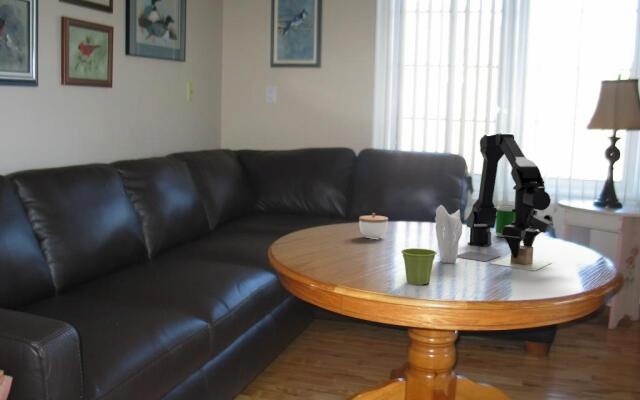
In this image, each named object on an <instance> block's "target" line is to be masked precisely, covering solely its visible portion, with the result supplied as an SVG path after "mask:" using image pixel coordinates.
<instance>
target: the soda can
mask: <svg viewBox="0 0 640 400" xmlns="http://www.w3.org/2000/svg"><path fill="white" fill-rule="evenodd" d="M496 208H497V212H496V216H497V217H496V222H495V235H497V237H498V236H499V237H498V238H501V237H503V235H501V231H502V228H503V227H504V226H507V225H511V222H514V212H512V209H514V208H515V204H499V205H498V206H497V207H496Z"/></svg>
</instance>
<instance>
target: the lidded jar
mask: <svg viewBox="0 0 640 400" xmlns="http://www.w3.org/2000/svg"><path fill="white" fill-rule="evenodd" d="M358 221H359V223H358V224H359V230H360V233H361V235H362V236H363V237H364V236H365V237H371V238H380V237H381V238H382V237H384V236H385V234H386V232H387V230H388V225H389V224H388V223H389V217H387V216H382V215H376V213H375V212H372V214H371V215H370V214H369V215H360V216H359V217H358ZM365 237H364V238H365Z"/></svg>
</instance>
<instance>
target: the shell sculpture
mask: <svg viewBox="0 0 640 400" xmlns="http://www.w3.org/2000/svg"><path fill="white" fill-rule="evenodd" d="M435 215H436V216H435V217H434V221H435V234H436V240H437V246H438V250H439V258H440V260H439V261H440V262H441V263H444V264H454V263H456V262H457V259H458V257H457V255H459V242H460V239H461V236H462V234H463V224H462V221H461V210H460V209H458V210H457V211H455V212H453V213H451V214H449V212H448V211H447V209H446V207H445V206H444V205H442V204H440V205H439V206H438V207H437V208H436V210H435Z"/></svg>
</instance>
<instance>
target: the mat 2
mask: <svg viewBox="0 0 640 400" xmlns="http://www.w3.org/2000/svg"><path fill="white" fill-rule="evenodd" d="M552 263H553V262H550V261H542V260H537V259H536V260H535V259H533V263H531V264H529V265H520V264H513V263H511V255H510V256H506V257H504V258H500V259H499V260H496V261H495V260H494V261H493V262H490V265H495V266H502V267H508V268H514V269H520V270H525V271H526V270H527V271H532V272H534V271H537V270H540V269H543V268H545V267H547V266H549V265H551V264H552Z"/></svg>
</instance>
